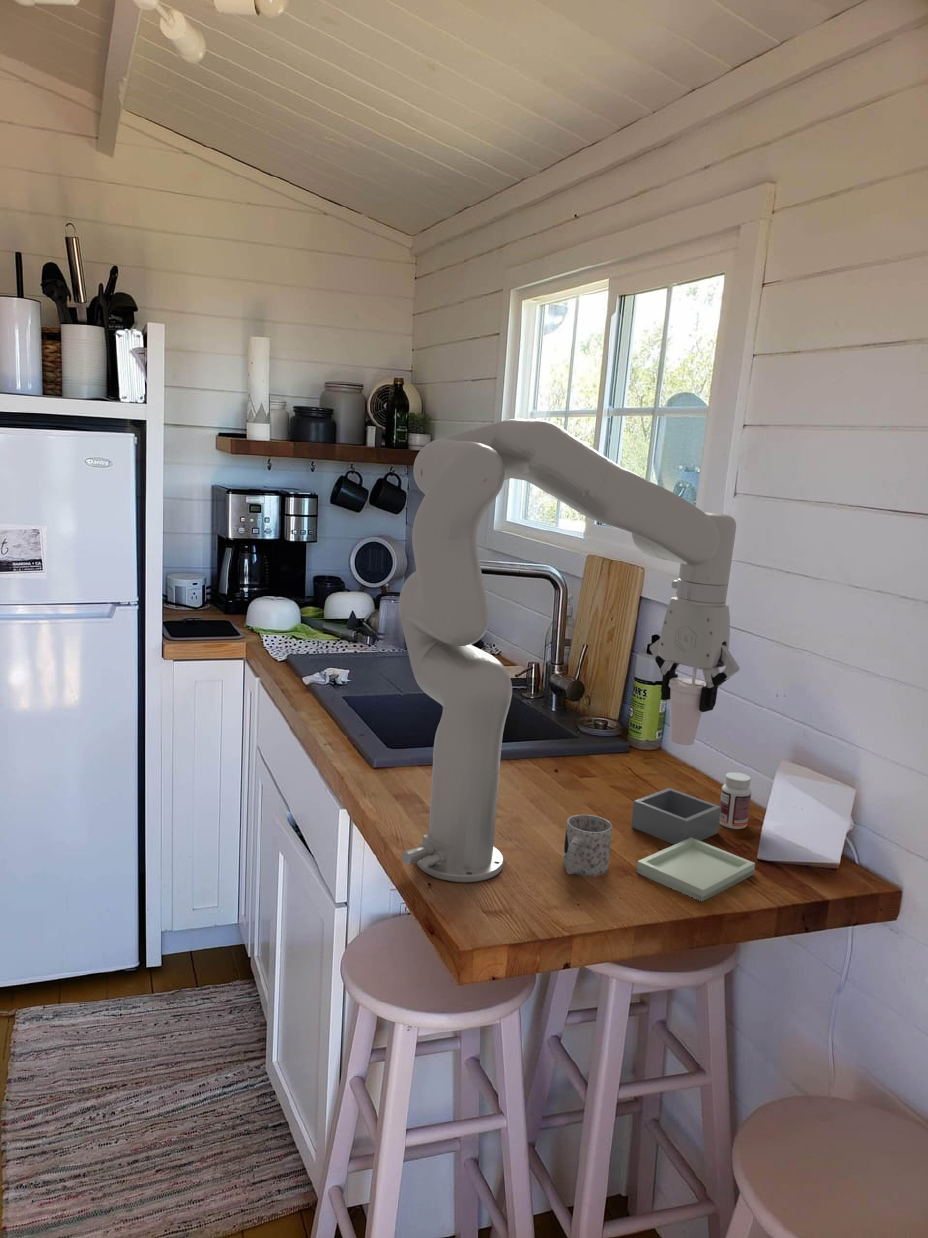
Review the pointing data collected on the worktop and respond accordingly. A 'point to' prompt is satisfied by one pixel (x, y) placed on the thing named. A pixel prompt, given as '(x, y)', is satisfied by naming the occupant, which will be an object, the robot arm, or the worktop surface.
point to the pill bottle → (735, 800)
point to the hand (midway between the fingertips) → (686, 703)
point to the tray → (695, 868)
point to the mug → (587, 845)
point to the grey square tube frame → (675, 816)
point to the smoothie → (685, 708)
